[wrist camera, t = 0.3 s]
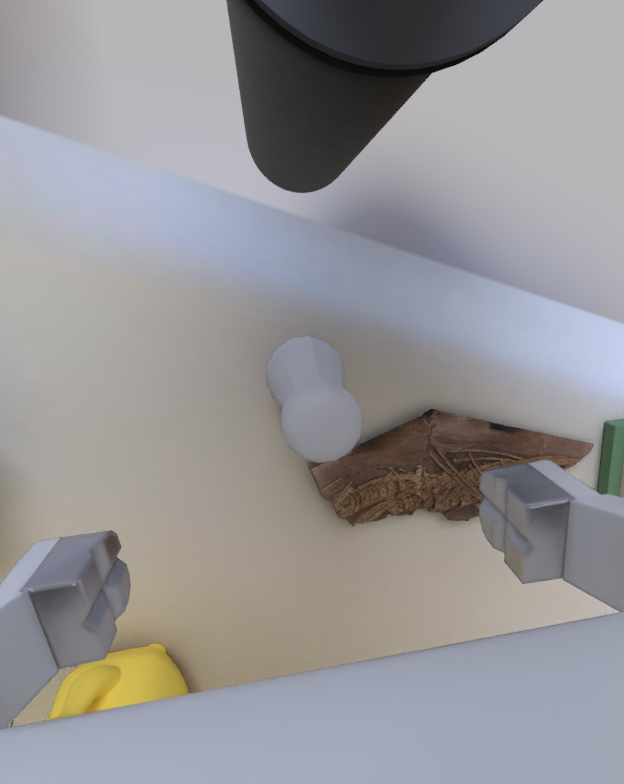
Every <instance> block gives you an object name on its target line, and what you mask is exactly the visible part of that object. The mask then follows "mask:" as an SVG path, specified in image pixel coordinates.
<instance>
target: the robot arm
mask: <svg viewBox="0 0 624 784" xmlns="http://www.w3.org/2000/svg"><path fill="white" fill-rule="evenodd" d="M479 489H480V490H481V492H482V493H483V494H484V495H485V496H486V497H485V498H484V500H483V501H482V503H481V504H480V506H479V519H480V523H481V527H482V530H483V533H484V535H485V537H486V539H487V540H488V542H489V543H490V544H491V546H492V547H493V548H495V549H497V550H499V551H501V552H504V553H505V558H504V562H505V563H506V564H507V565H508V567H509V568H510V569H511V570H512V572H513V573H514V574H515V575H516V576H517V578H518V579H519V580H520V581H521V583H522V584H526V583H532V582H539V581H546V580H552V579H559V578H563V580H564V581H566V582H568V583H570V584H571V585H573V586H575V587H577V588H578V589H580V590H582V591H584V592H586V593H587V594H589V595H591V596H593V597H594V598H596V599H598V600H600V601H602V602H603V603H605V604H607V605H609V606H610V607H612V608H614V609H616V610H618V611H619V612H620V613H615V614H610V615H604V616H599V617H594V618H588V619H583V620H578V621H572V622H567V623H562V624H556V625H551V626H546V627H540V628H535V629H530V630H524V631H519V632H514V633H509V634H503V635H498V636H493V637H487V638H482V639H477V640H471V641H466V642H461V643H455V644H450V645H445V646H439V647H434V648H429V649H423V650H418V651H413V652H408V653H402V654H397V655H392V656H386V657H381V658H376V659H371V660H366V661H360V662H355V663H350V664H345V665H339V666H334V667H329V668H324V669H318V670H313V671H308V672H303V673H297V674H292V675H287V676H281V677H276V678H271V679H265V680H260V681H255V682H249V683H244V684H239V685H234V686H228V687H223V688H218V689H212V690H207V691H202V692H196V693H191V694H186V695H180V696H175V697H170V698H164V699H159V700H154V701H149V702H143V703H138V704H133V705H127V706H122V707H117V708H111V709H106V710H101V711H95V712H90V713H85V714H80V715H74V716H69V717H64V718H58V719H53V720H48V721H42V722H37V723H32V724H26V725H21V726H16V727H11V728H6V727H7V725H8V724H9V723H10V722H11V721H12V720H13V719H14V718H15V717H16V716H17V715H18V714H19V713H20V712H21V711H22V710H23V709H24V708H25V707H26V705H27V704H28V703H29V702H30V701H31V700H32V699H33V698H34V697H35V696H36V695H37V694H38V693H39V692H40V691H41V690H42V689H43V688H44V687H45V685H46V684H47V683H48V682H49V681H50V680H51V679H52V678H53V677H54V676H55V675H56V674H57V673H58V672H59V670H58V669H61V668H66V667H71V666H75V665H80V664H85V663H90V662H94V661H99V660H104V659H106V656H107V654H108V651H109V649H110V646H111V644H112V641H113V639H114V636H115V634H116V632H117V627H116V624H115V620H116V619H117V618H118V617H119V616H120V615H121V614H122V613H123V612H125V609H126V606H127V604H128V601H129V595H130V586H131V585H130V575H129V571H128V568H127V564H125V563H124V562H123V561H121V560H120V559H119V558H117V555H118V553H119V551H120V549H121V544H120V542H119V539H118V536H117V534H116V533H115V532H113V531H112V530H111V531H104V532H97V533H90V534H82V535H75V536H68V537H64V538H63V537H59V538H54V539H48V540H42V541H39V542H36V543H34V544H33V545H32V546H31V548H30V549H29V550H28V551H27V552H26V554H25V555H24V556H23V557H22V558H21V559H20V561H19V562H18V563H17V564H16V565H15V567H14V568H13V569H12V570H11V571H10V573H9V574H8V575H7V576H6V577H5V579H4V580H3V581H2V582H1V583H0V784H624V498H622V497H618V496H615V495H611V494H603V495H601V494H599V493H598V492H596V491H595V490H593V489H592V488H590V487H589V486H587V485H586V484H584V483H583V482H581V481H580V480H578V479H577V478H576V477H574V476H573V475H571V474H570V473H568V472H567V471H565V470H564V469H562V468H561V467H559V466H558V465H556V464H555V463H553V462H552V461H548V460H543V461H538V462H533V463H528V464H523V465H517V466H512V467H507V468H501V469H496V470H491V471H486V472H482V473H481V476H480V480H479Z"/></svg>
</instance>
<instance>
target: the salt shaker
mask: <svg viewBox="0 0 624 784" xmlns="http://www.w3.org/2000/svg"><path fill="white" fill-rule="evenodd" d="M266 382H267V385H268V387H269V390H270V392H271V394H272V397H273V398H274V399H275V400H276V401H277V403H278V404H279V405H280V406H281V407H282V417H281V430H282V432H283V435H284V437H285V439H286V442H287V444H288V446H289V447H290V448H291V449H292V450H293V451H294V452H295V453H296V454H298V455H299V456H300V457H301V458H302V459H306V460H309V461H313V462H317V463H321V462H328V461H336V460H337V459H339V458H341V457H342V456H344V455H345V454H347V453H349V452H350V451H351V450H352V448H353V447H354V446H355V444H356V443H357V441H358V440H359V439H360V437H361V430H362V423H363V419H362V414H361V411H360V408H359V405H358V401H357V399H356V398H355V397H354V396H353V395H352V394H351V393H350V392H349V391H348V390H347V389H345V388H344V367H343V364H342V361H341V358H340V354H339V353H338V352H337V351H336V350H335V349H334V348H333V347H331V346H330V345H329V344H328V343H327V342H325V341H323V340H320V339H317V338H314V337H311V336H305V337H298V338H291V339H290V340H288V341H287V342H285V343H284V344H282V345H281V346H279V347H277V349H276V351H275V352H274V354H273V355H272V357H271V359H270V360H269V362H268V364H267V375H266Z"/></svg>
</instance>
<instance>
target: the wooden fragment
mask: <svg viewBox="0 0 624 784" xmlns="http://www.w3.org/2000/svg"><path fill="white" fill-rule="evenodd" d="M434 412H435V410H434V409H430V410H429V411H427V412H425V413H424V414H423V415H422V416H420V417H417V418H415V419H413V420H411V421H409V422H407V423H405V424H403V425H401V426H398V427H396V428H394V429H392V430H390V431H389V432H386V433H384V434H382V435H380V436H378V437H376V438H373V439H371V440H369V441H367V442H365V443H363V444H360V445H359V446H357V447H354V448H352V450H351V451H350V452H349V453H347V454H345V455H344V456H342V457H341V458H339V459H337V460H336V461H328V462H324V463H323V464H321V465H318V466H316V467H315V468H312V469H311V468H310V467H309V469H310V471H311V473H312V475H313V477H314V479H315V481H316V483H317V486H318V488H319V491H320V493H321V495H322V496H323V497H324V498H325V499H327V500H328V501H330V502H331V503H332V504H333V506H334V508H335V510H336V513H337V515H338V516H339V517H340V518H342V519H347V520H348V522H349V523H350V524H351V525H352V526H354V525H355V524H356V523H364V522H369V521H377V520H381V519H384V518H386V516H387V515H388V514H391V515H396V516H401V515H404V514H408V515H410V516H411V515H413V512H414V511H415V510H416V508H420V509H422V508H425V509H426V510H428V511H434V512H439V511H441V512H442V513H443V514H444V516H445V517H446V518H447V519H448V520H455V521H459V520H466V521H468V520H469V519H471V518H473V517H475V516H478V515H479V506H480V504H481V503H482V501H483V500H484V498H485V497H486V496H485V495H484V494H483V493H482V492H481V490H480V489H479V480H480V476H481V473H482V472H486V471H491V470H496V469H501V468H507V467H512V466H517V465H523V464H528V463H533V462H538V461H543V460H548V461H552V462H553V463H555V464H556V465H558V466H559V467H561V468H562V469H566V468H569V467H571V466H573V465H574V464H576V463H577V462H578V461H580V460H581V459H582V458H583V457H584V456H585V455H587V454H589V453H590V451H591V449H592V447H593V445H594V444H589V443H585V442H581V441H575V440H571V439H566V438H562V437H556V436H553V435H547V434H543V433H539V432H533V431H529V430H525V429H520V428H515V427H508V426H504V425H500V424H495V423H491V422H487V421H483V420H479V419H474V418H470V417H463V416H459V415H458V416H457V415H455V414H451V413H447V412H442V411H438V410H436V412H437V414H436V416H435V419H434V418H433V415H434V414H435V413H434Z"/></svg>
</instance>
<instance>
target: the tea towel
mask: <svg viewBox="0 0 624 784" xmlns="http://www.w3.org/2000/svg"><path fill="white" fill-rule="evenodd" d="M598 493H599V494H601V495H603V494H611V495H615V496H618V497H622V498H624V419H620V420H614V421H608V422H605V429H604V438H603V447H602V456H601V465H600V474H599V483H598Z"/></svg>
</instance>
